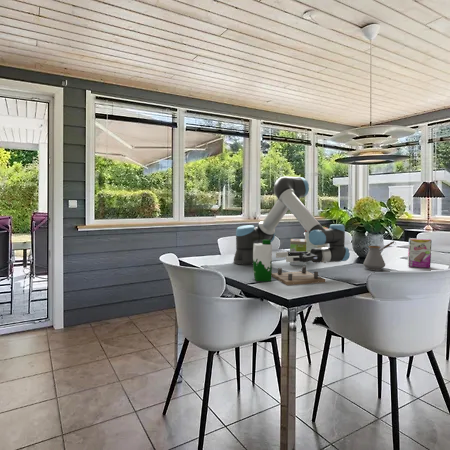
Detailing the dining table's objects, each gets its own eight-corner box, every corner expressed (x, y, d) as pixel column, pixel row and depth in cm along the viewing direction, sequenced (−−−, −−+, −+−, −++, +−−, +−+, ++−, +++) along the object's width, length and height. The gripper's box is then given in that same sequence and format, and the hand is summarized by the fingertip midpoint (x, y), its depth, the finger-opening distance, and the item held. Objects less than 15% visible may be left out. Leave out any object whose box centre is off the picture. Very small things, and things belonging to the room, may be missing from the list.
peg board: (271, 276, 185) (271, 267, 185) (306, 273, 190) (307, 265, 189) (286, 285, 166) (286, 275, 165) (325, 282, 170) (325, 273, 170)
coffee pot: (374, 271, 193) (374, 244, 192) (358, 268, 204) (359, 242, 203) (402, 268, 202) (403, 242, 201) (386, 265, 212) (387, 240, 211)
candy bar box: (408, 267, 204) (409, 239, 203) (407, 265, 209) (408, 238, 208) (431, 268, 201) (431, 239, 200) (429, 266, 206) (429, 238, 204)
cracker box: (328, 258, 237) (328, 227, 236) (325, 259, 232) (325, 228, 231) (307, 257, 245) (307, 226, 243) (304, 258, 240) (304, 227, 238)
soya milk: (273, 281, 173) (273, 240, 171) (254, 282, 172) (254, 241, 171) (269, 277, 182) (269, 238, 180) (252, 278, 181) (251, 239, 179)
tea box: (306, 265, 213) (306, 241, 212) (289, 265, 215) (289, 241, 214) (306, 261, 228) (306, 238, 227) (290, 261, 230) (290, 238, 229)
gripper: (332, 266, 171) (291, 269, 166) (308, 258, 195) (272, 260, 190) (332, 251, 170) (291, 253, 166) (308, 245, 195) (272, 246, 190)
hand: (281, 257), depth 178 cm, fingers open, 13 cm apart
